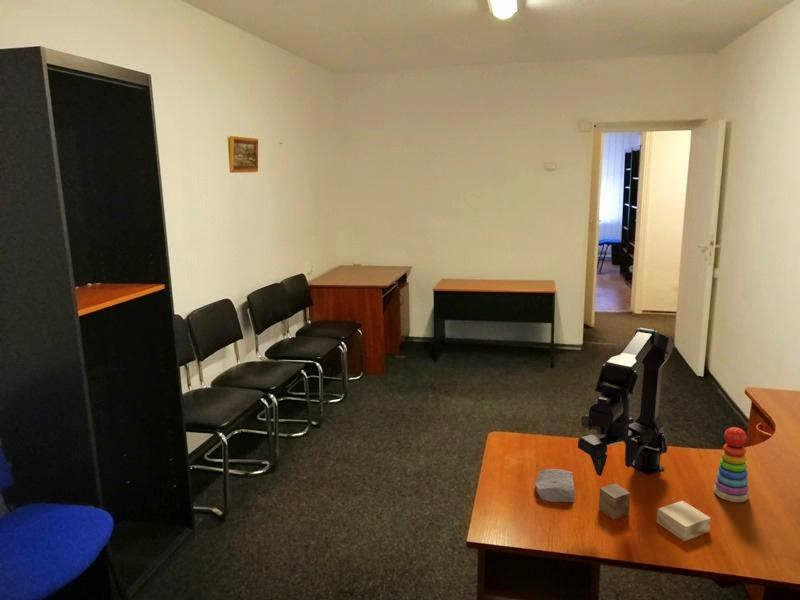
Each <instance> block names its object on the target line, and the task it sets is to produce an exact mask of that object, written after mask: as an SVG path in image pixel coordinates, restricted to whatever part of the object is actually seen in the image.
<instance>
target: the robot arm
mask: <svg viewBox="0 0 800 600" xmlns="http://www.w3.org/2000/svg"><path fill="white" fill-rule="evenodd" d="M673 349H674V342H673V340H672V339H671V338H670V336H667V335H664V334H661V333H660V332H659V331H657V330H656V329H652V328H650V329H649V328H645V327H644V328H643V327H638V328H636V330H635V332H634V335H633V337H632V338H631V340H630V341H629V343H628V344H627V345H626V347H625V348H624V349H623V351H622V352H621V353H620V354H618V355H614V356H611V357H610V358H609V359H608V360H607V361H606V362H605V363H604V364H603V365H602V366H601V370H600V373H599V377H598V379H597V382H596V386H595V389H594V390H595V392H597V393H600V394H601V396H599V397H597V398H598V399H597V400H596V402H594V403H593V404H592V405H591V406H590V408H589V410H588V414H583V415H581V421H580V422H581V427H582V428H583V429H587V430H588V431H591V430H593V431H596V433H597V434H598V435H603V437H601V438H599V437H597V436H596V435H593V434H588V435H585V436H582V437H579V438H578V439H577V440H578V441H577V448H578V449H579V450H581V451H582V452H583V453H585V454H588V455H589V457H590V459H591V461H592V464H593V467H594V470H595V473H596V475H597V476H598V477H602V475H603V472H604V468H605V465H606V462H607V457H608V454H606V453H607V452H608V447H610V446H613V445H616V444H619V443H620V444H621V443H623V442H624V444H625V447H624V465H625V467H627V468H630V467H631V466H632V467H634V468H635V469H637V470H639V471H641V472H642V473H644V474H646V475H650V474H651V475H652V474H654V473H657V472H661V471H663V470H665V467H664V466H662V465H661V455H662V454H666V453H667V452H668V445H669V444H668V443H669V441H668V439H667V436H666V434H665V433H664V430H665V429H664V428H665V427H664V424H663V422H662V420H661V419H660V416H659V410H660V398H661V397H660V396H661V386H662V374H663V366H664V364H666V362H667V361H668V360H669V359H670V357H671V354H672V352H673ZM641 364H642V366H643V370H642V383H641V385H642V386H641V395H640V396H641V397H640V407H639V409H640V411H639V416H638V417H637V419H636V420H635V421H634V418H633V417H631V416H630V415H631V403H632V402H631V399H632V395H634V394H635V391H636V388H637V386H638V383H639V380H640V375H639V371H638V368H639V367H640V365H641ZM605 384H607V385H605ZM609 385H610V386H609Z"/></svg>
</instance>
